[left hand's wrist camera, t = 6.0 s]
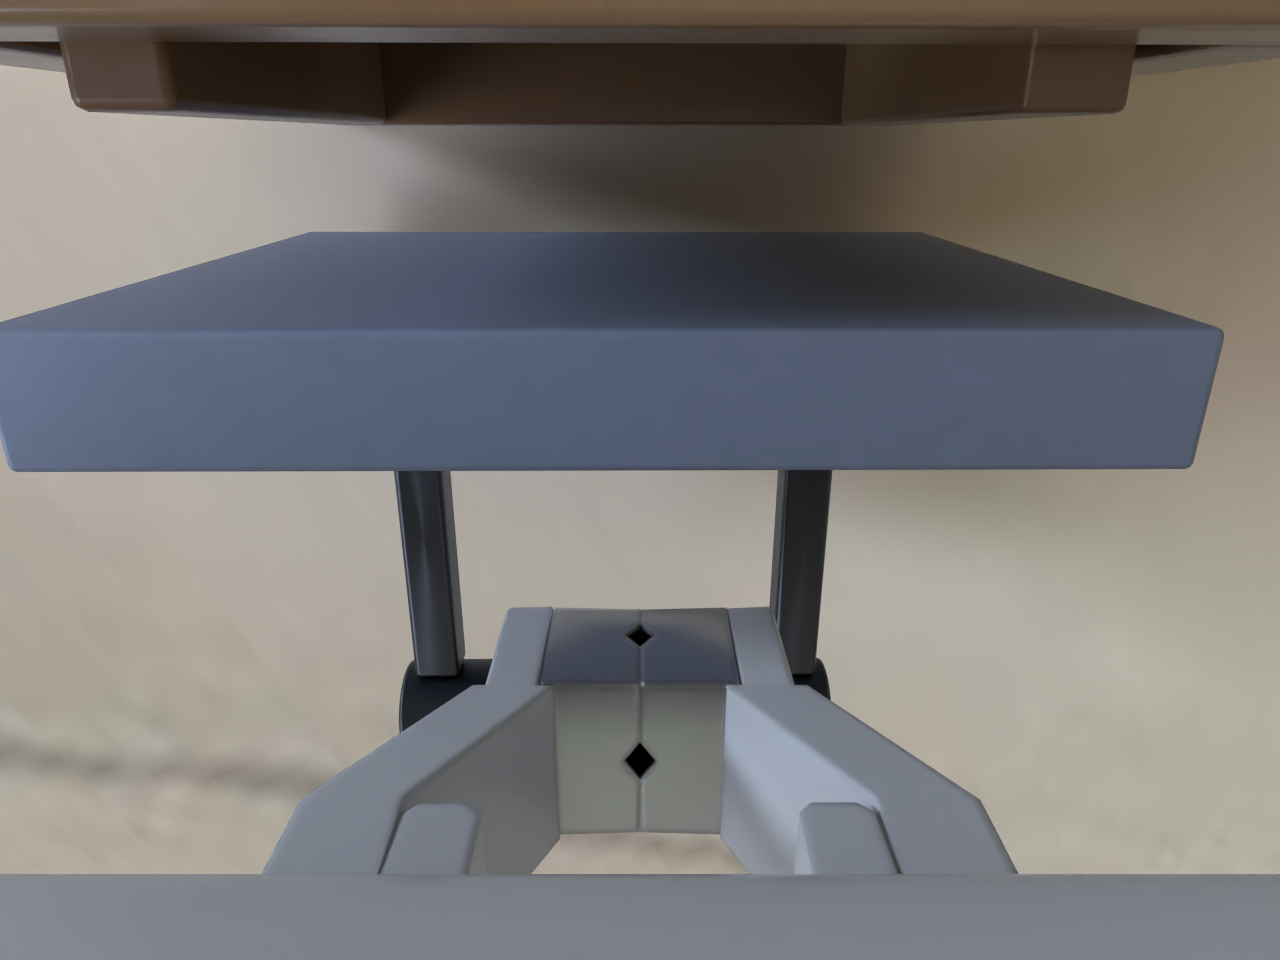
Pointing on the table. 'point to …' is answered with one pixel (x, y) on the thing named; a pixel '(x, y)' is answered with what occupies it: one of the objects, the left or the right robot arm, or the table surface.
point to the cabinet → (660, 24)
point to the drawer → (602, 311)
